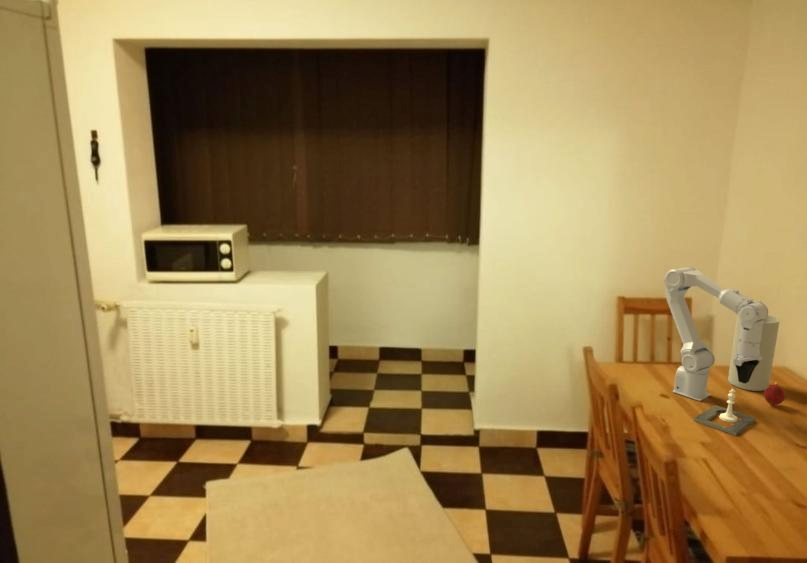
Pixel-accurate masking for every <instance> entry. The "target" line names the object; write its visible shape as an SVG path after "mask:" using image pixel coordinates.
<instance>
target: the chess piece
mask: <svg viewBox="0 0 807 563" xmlns="http://www.w3.org/2000/svg"><path fill="white" fill-rule="evenodd" d="M728 392H729V393H728V394H727V397H728V400H726V403H727V404H728V405H727V408H726V409H727V411H726V412H725V413H720V414H719V416H718V417H719V419H720V420H722V421H723V422H726V423H736V422H737V421H739V419H738V417H737V416H734V415H733V414H732V411H733V405H735V404H736V403H735V401H734V399H735V398H736V394H734V393H736V390H735V389H734V388H731V390H729V391H728Z"/></svg>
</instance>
